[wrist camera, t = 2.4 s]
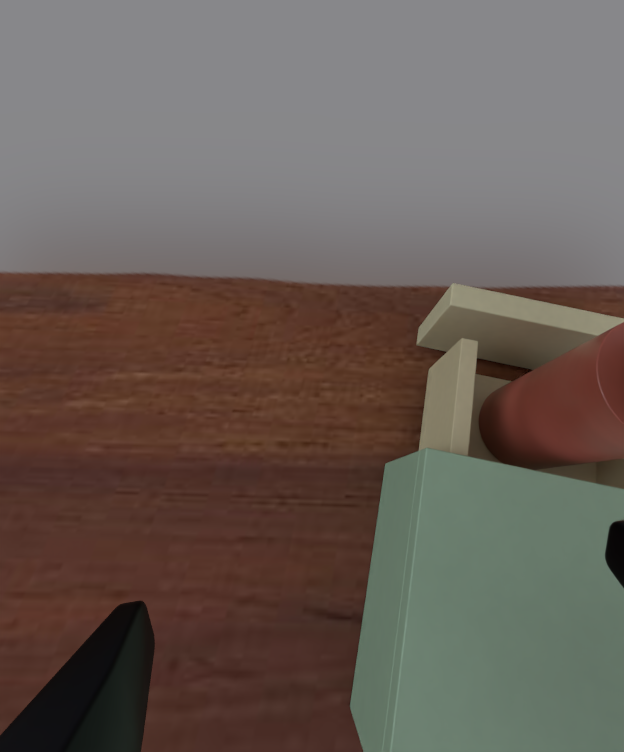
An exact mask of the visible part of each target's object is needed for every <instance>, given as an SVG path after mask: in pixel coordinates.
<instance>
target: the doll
mask: <svg viewBox="0 0 624 752" xmlns="http://www.w3.org/2000/svg"><path fill="white" fill-rule="evenodd" d="M479 429H480V434H481V437H482V439H483V441H484V443H485V445H486V447H487V448H488V450H489V451H490V452H491V453H492V454H493V456H494V457H496V458H497V459H498V460H499V461H500V462H502V463H504V464H508V465H512V466H517V467H522V468H527V469H531V470H538V469H546V468H553V467H561V466H569V465H577V464H585V463H593V462H600V461H608V460H616V459H624V322H623V323H621V324H619V325H617V326H615V327H613V328H611V329H609V330H607V331H606V332H604V333H602V334H600V335H598V336H596V337H594V338H592V339H591V340H589V341H587V342H585V343H583V344H581V345H579V346H577V347H576V348H574V349H572V350H570V351H568V352H566V353H564V354H562V355H561V356H559V357H557V358H555V359H553V360H551V361H549V362H547V363H546V364H544V365H542V366H540V367H538V368H536V369H534V370H532V371H531V372H529V373H527V374H525V375H523V376H521V377H519V378H518V379H516V380H514V381H512V382H510V383H508V384H506V385H504V386H503V387H501V388H499V389H497V390H495V391H494V392H492V393H491V394H490V395H489V396H488V397H487V398H486V400H485V401H484V403H483V405H482V407H481V410H480V414H479Z"/></svg>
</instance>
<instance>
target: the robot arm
mask: <svg viewBox="0 0 624 752" xmlns="http://www.w3.org/2000/svg"><path fill="white" fill-rule="evenodd" d="M605 560H606V563H607V565H608V567H609V569H610V570H611V572H612V573H613V575H614V576H615V577H616V579H617V580H618V581H619V583H620V584H621V586H622V587H623V588H624V520H620V521H615V522H613V523H612V524H611V525H610V527H609V531H608V537H607V543H606V549H605ZM154 647H155V640H154V633H153V629H152V625H151V622H150V618H149V614H148V611H147V607H146V605H145V603H144V602H143V601H135V602H129V603H123V604H120V605H119V606H117V607H116V608H115V609H114V610H113V612H112V613H111V614H110V615H109V616H108V617H107V618H106V619H105V620H104V621H103V623H102V624H101V625H100V626H99V627H98V628H97V629H96V630H95V631H94V632H93V634H92V635H91V636H90V637H89V638H88V639H87V640H86V641H85V642H84V644H83V645H82V646H81V647H80V648H79V649H78V650H77V651H76V652H75V653H74V655H73V656H72V657H71V658H70V659H69V660H68V661H67V662H66V663H65V665H64V666H63V667H62V668H61V669H60V670H59V671H58V672H57V673H56V674H55V676H54V677H53V678H52V679H51V680H50V681H49V682H48V683H47V684H46V686H45V687H44V688H43V689H42V690H41V691H40V692H39V693H38V694H37V695H36V697H35V698H34V699H33V700H32V701H31V702H30V703H29V704H28V705H27V707H26V708H25V709H24V710H23V711H22V712H21V713H20V714H19V715H18V716H17V718H16V719H15V720H14V721H13V722H12V723H11V724H10V725H9V726H8V728H7V729H6V730H5V731H4V732H3V733H2V734H1V735H0V752H141V746H142V740H143V733H144V725H145V717H146V710H147V702H148V694H149V687H150V679H151V671H152V664H153V656H154Z"/></svg>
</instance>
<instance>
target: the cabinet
mask: <svg viewBox="0 0 624 752" xmlns="http://www.w3.org/2000/svg"><path fill="white" fill-rule="evenodd" d="M620 520H624V489H622V488H617V487H612V486H608V485H603V484H598V483H593V482H589V481H584V480H579V479H574V478H569V477H565V476H560V475H555V474H550V473H546V472H541V471H536V470H531V469H527V468H522V467H517V466H512V465H508V464H503V463H498V462H493V461H488V460H484V459H479V458H474V457H469V456H465V455H460V454H455V453H450V452H446V451H441V450H436V449H431V448H425V449H422V450H420V451H417V452H414V453H412V454H409V455H407V456H404V457H401V458H399V459H396V460H394V461H391V462H389V463H386V464H385V470H384V477H383V483H382V490H381V497H380V504H379V511H378V518H377V524H376V531H375V538H374V545H373V552H372V559H371V565H370V572H369V579H368V586H367V593H366V600H365V606H364V613H363V620H362V627H361V634H360V641H359V647H358V654H357V661H356V668H355V675H354V681H353V688H352V695H351V702H350V709H351V712H352V715H353V719H354V722H355V725H356V729H357V732H358V735H359V738H360V742H361V745H362V748H363V751H364V752H624V588H623V587H622V586H621V584H620V583H619V581H618V580H617V579H616V577H615V576H614V575H613V573H612V572H611V570H610V569H609V567H608V565H607V563H606V560H605V549H606V543H607V537H608V531H609V527H610V525H611V524H612V523H613V522H615V521H620Z"/></svg>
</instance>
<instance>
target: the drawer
mask: <svg viewBox="0 0 624 752" xmlns="http://www.w3.org/2000/svg"><path fill="white" fill-rule="evenodd" d="M623 322H624V319H623V318H618V317H613V316H608V315H603V314H599V313H594V312H589V311H584V310H580V309H575V308H570V307H565V306H560V305H556V304H551V303H546V302H541V301H536V300H532V299H527V298H522V297H517V296H512V295H508V294H503V293H498V292H493V291H489V290H484V289H479V288H474V287H469V286H465V285H460V284H455V283H453V284H452V285H451V286H450V287H449V289H448V290H447V291H446V293H445V294H444V295H443V297H442V298H441V299H440V301H439V302H438V303H437V305H436V306H435V307H434V308H433V310H432V311H431V312H430V314H429V315H428V316H427V318H426V319H425V320H424V322H423V323H422V324H421V326H420V327H419V330H418V337H417V346H422V347H427V348H431V349H436V350H441V351H446V352H447V353H445V354H444V355H443V356H442V357H441V358H440V359H439V360H438V361H437V362H436V363H435V364H434V365H433V366H432V367H431V368H430V369H429V372H428V380H427V388H426V396H425V404H424V412H423V420H422V428H421V436H420V444H419V451H420V450H422V449H425V448H431V449H436V450H441V451H446V452H450V453H455V454H460V455H465V456H469V457H474V458H479V459H484V460H488V461H493V462H498V463H502V462H500V461H499V460H498V459H497V458H496V457H494V456H493V454H492V453H491V452H490V451H489V450H488V448H487V447H486V445H485V443H484V441H483V439H482V437H481V434H480V429H479V414H480V410H481V407H482V405H483V403H484V401H485V400H486V398H487V397H488V396H489V395H490V394H491V393H492V392H494V391H495V390H497V389H499V388H501V387H503V386H504V385H506V384H508V383H510V382H512V381H507V380H503V379H498V378H493V377H488V376H483V375H479V374H475V373H476V362H477V358H479V359H484V360H489V361H493V362H498V363H503V364H508V365H513V366H517V367H522V368H527V369H532V370H534V369H536V368H538V367H540V366H542V365H544V364H546V363H547V362H549V361H551V360H553V359H555V358H557V357H559V356H561V355H562V354H564V353H566V352H568V351H570V350H572V349H574V348H576V347H577V346H579V345H581V344H583V343H585V342H587V341H589V340H591V339H592V338H594V337H596V336H598V335H600V334H602V333H604V332H606V331H607V330H609V329H611V328H613V327H615V326H617V325H619V324H621V323H623ZM503 464H504V463H503ZM536 471H541V472H546V473H550V474H555V475H560V476H565V477H569V478H574V479H579V480H584V481H589V482H593V483H598V484H603V485H608V486H612V487H617V488H622V489H624V459H616V460H608V461H600V462H593V463H585V464H577V465H569V466H561V467H553V468H546V469H538V470H536Z"/></svg>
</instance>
